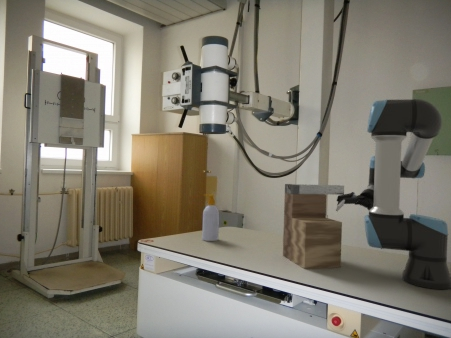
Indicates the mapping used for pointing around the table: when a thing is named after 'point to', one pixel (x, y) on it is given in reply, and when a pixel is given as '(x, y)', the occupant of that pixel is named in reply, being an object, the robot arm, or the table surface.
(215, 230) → the soap bottle
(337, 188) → the steel bar
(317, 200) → the walnut step stand
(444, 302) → the table surface
